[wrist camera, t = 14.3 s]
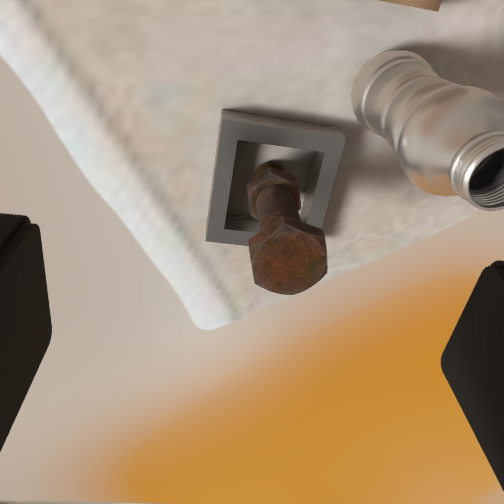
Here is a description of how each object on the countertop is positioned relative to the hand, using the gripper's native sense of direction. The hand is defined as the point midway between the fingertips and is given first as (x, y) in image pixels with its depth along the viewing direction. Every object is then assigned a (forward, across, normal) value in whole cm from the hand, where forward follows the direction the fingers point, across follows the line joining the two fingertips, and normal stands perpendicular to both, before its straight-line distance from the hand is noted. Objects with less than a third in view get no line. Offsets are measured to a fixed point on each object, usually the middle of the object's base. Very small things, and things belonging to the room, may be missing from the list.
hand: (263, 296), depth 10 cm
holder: (+33, -4, +11) cm, 35 cm away
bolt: (+33, -4, +11) cm, 35 cm away
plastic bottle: (+33, -13, +2) cm, 36 cm away
